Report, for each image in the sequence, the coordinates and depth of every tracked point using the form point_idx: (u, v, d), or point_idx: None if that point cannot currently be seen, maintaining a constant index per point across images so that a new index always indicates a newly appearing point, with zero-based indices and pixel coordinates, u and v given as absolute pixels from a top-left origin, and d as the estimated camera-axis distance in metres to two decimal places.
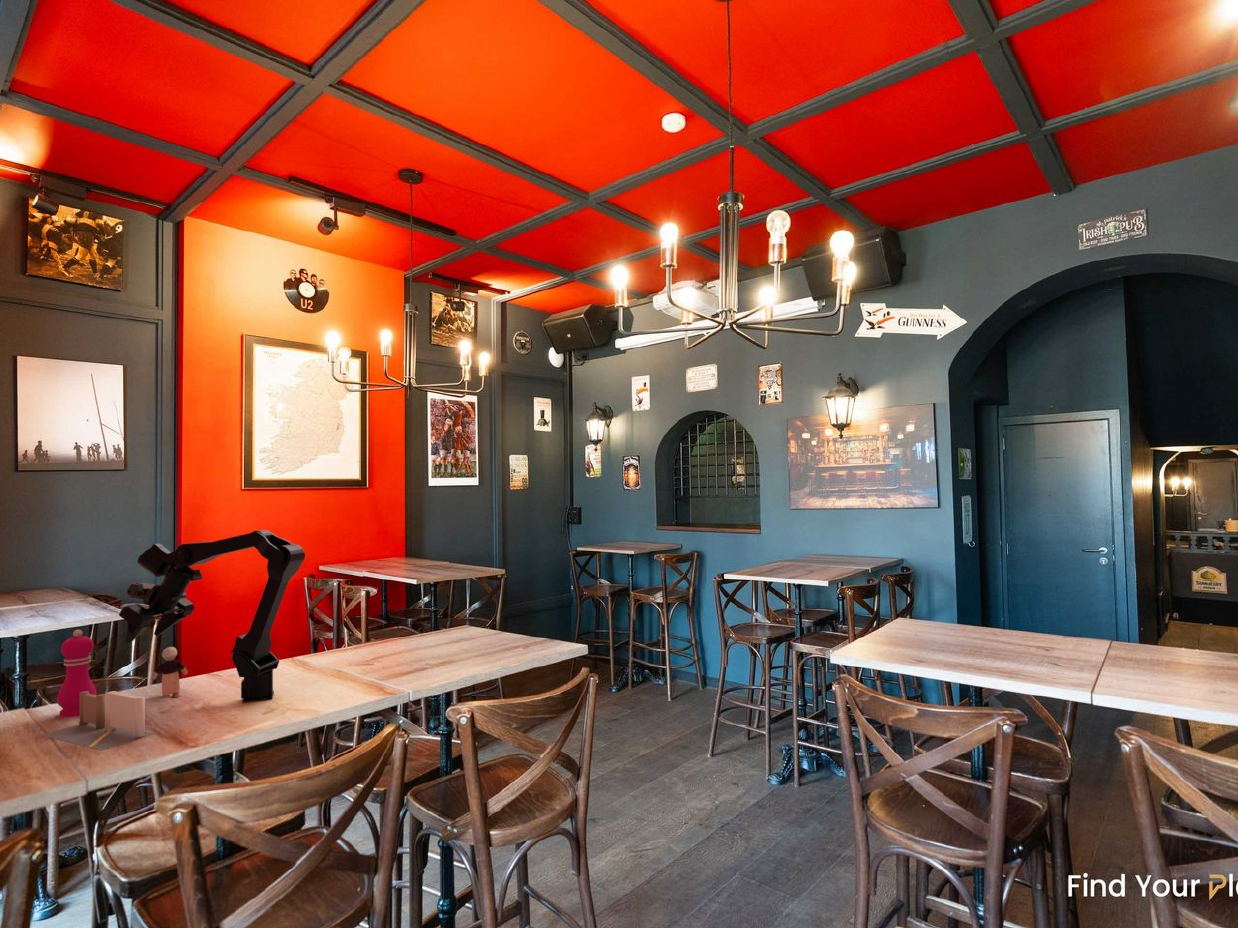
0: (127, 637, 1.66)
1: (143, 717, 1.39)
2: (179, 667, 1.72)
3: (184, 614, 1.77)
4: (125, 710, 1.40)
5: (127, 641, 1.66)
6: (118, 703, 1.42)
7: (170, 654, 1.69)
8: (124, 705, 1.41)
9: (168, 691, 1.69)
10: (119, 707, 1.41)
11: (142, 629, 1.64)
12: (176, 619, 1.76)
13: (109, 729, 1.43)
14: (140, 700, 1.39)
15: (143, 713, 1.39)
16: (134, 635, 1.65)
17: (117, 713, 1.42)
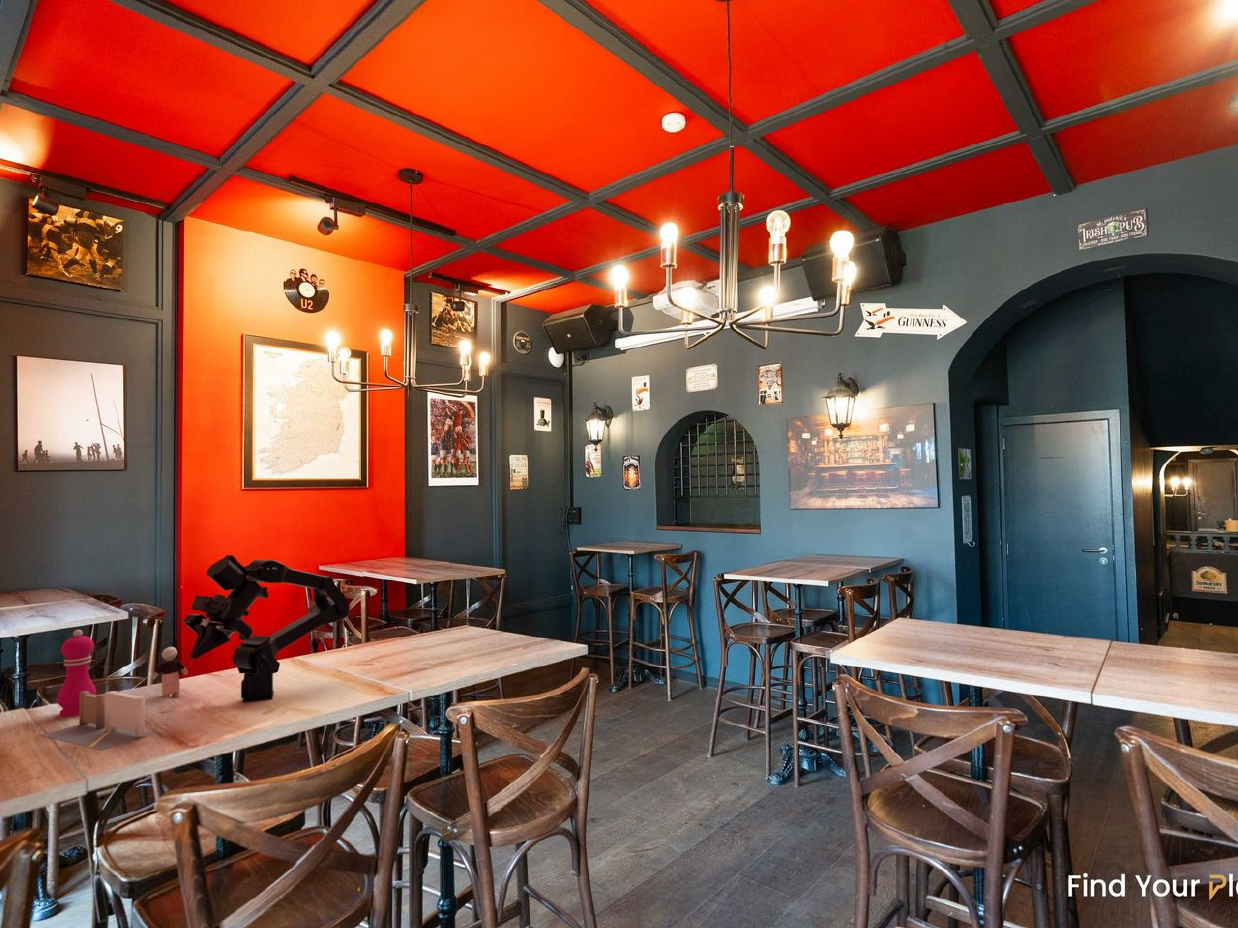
0: (198, 652, 1.54)
1: (143, 717, 1.39)
2: (179, 667, 1.72)
3: None
4: (125, 710, 1.40)
5: (195, 656, 1.54)
6: (118, 703, 1.42)
7: (170, 654, 1.69)
8: (124, 705, 1.41)
9: (168, 691, 1.69)
10: (119, 707, 1.41)
11: None
12: None
13: (109, 729, 1.43)
14: (140, 700, 1.39)
15: (143, 713, 1.39)
16: (209, 649, 1.56)
17: (117, 713, 1.42)
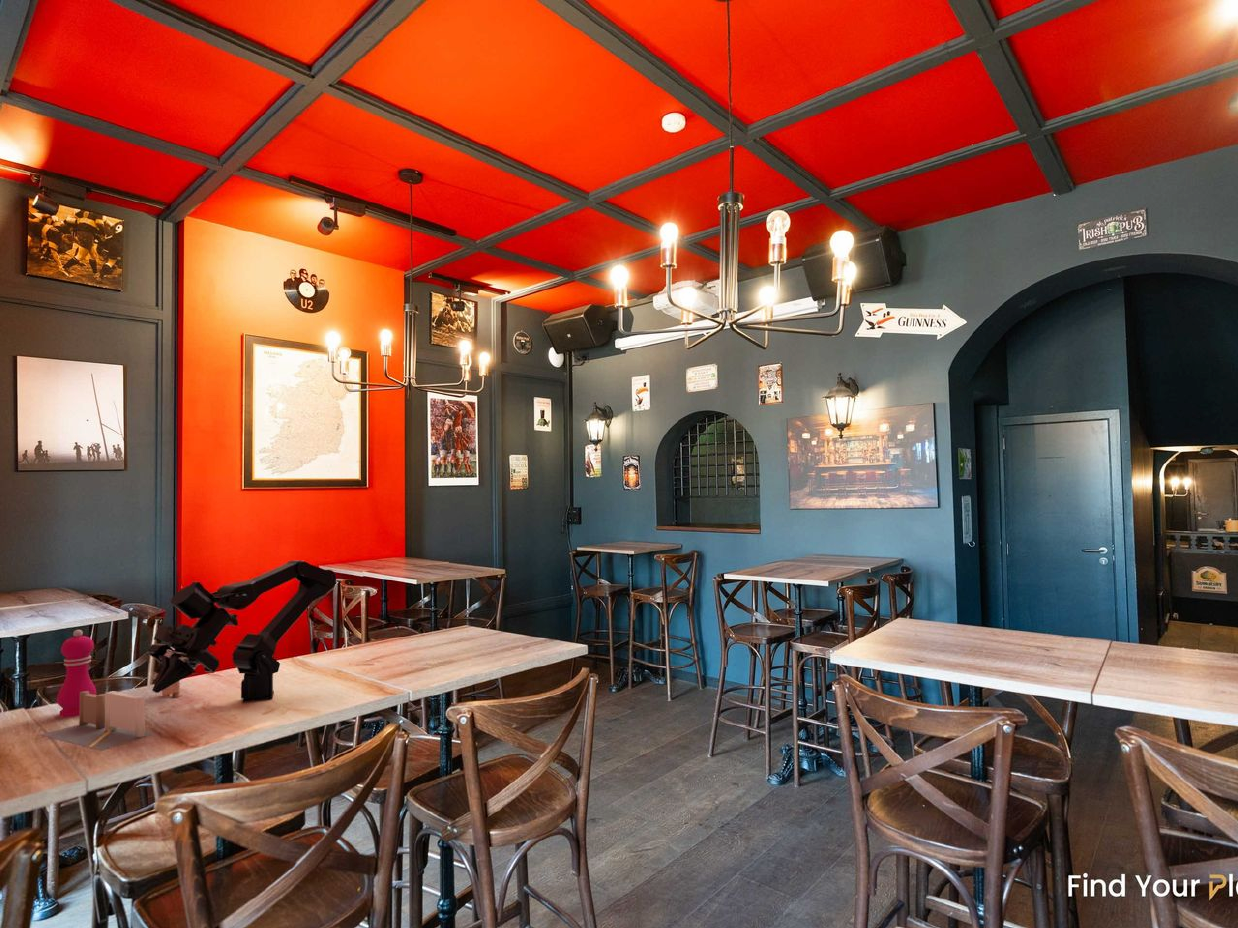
0: (161, 685, 1.47)
1: (143, 717, 1.39)
2: None
3: None
4: (125, 710, 1.40)
5: (158, 690, 1.46)
6: (118, 703, 1.42)
7: None
8: (124, 705, 1.41)
9: (168, 691, 1.69)
10: (119, 707, 1.41)
11: None
12: None
13: (109, 729, 1.43)
14: (140, 700, 1.39)
15: (143, 713, 1.39)
16: (173, 682, 1.49)
17: (117, 713, 1.42)
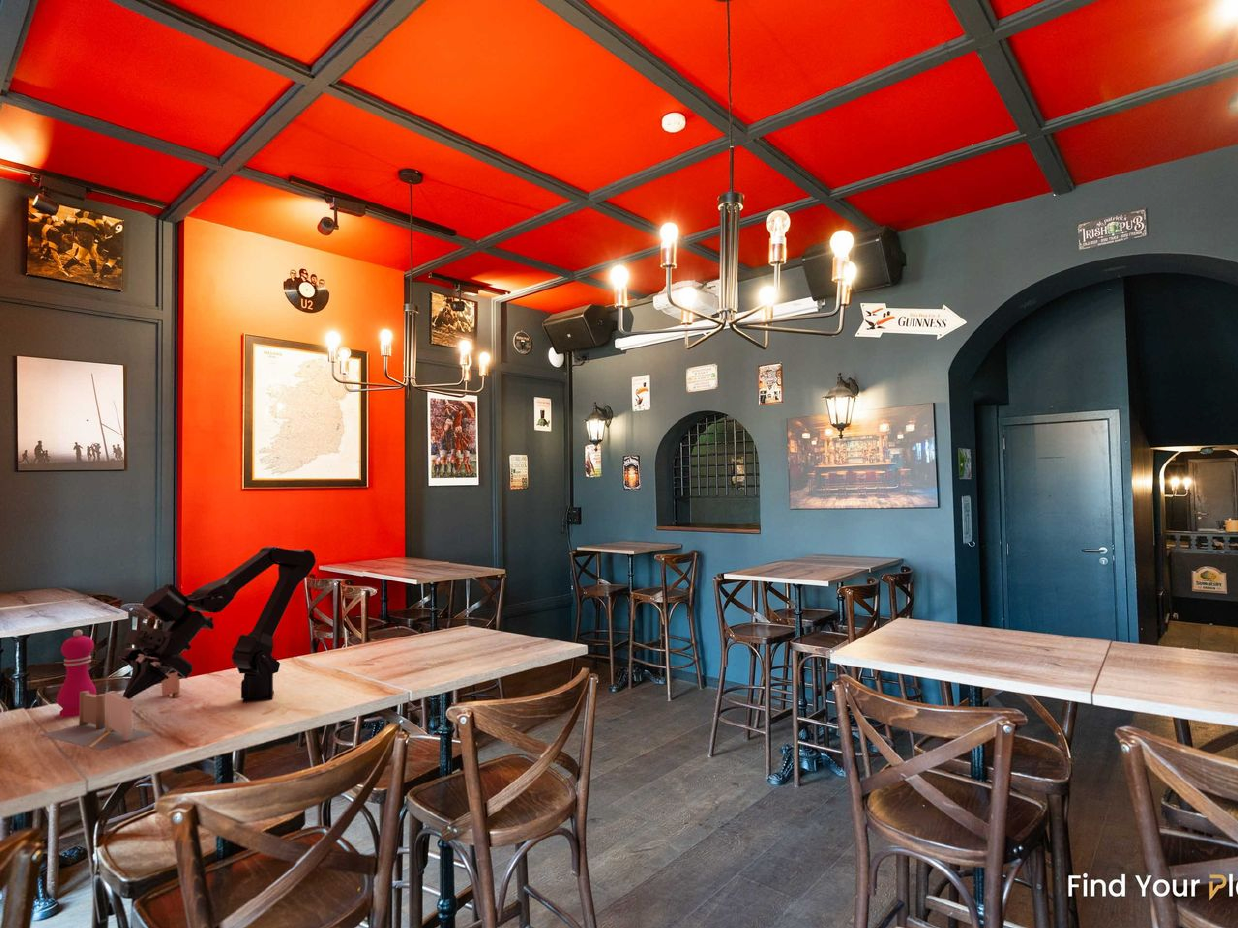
0: (131, 691, 1.41)
1: (129, 721, 1.37)
2: None
3: None
4: (117, 712, 1.39)
5: (128, 696, 1.41)
6: (113, 704, 1.41)
7: None
8: (116, 707, 1.40)
9: (168, 691, 1.69)
10: (114, 708, 1.41)
11: None
12: None
13: (108, 729, 1.43)
14: (126, 703, 1.37)
15: (130, 716, 1.37)
16: (145, 688, 1.43)
17: (112, 714, 1.41)
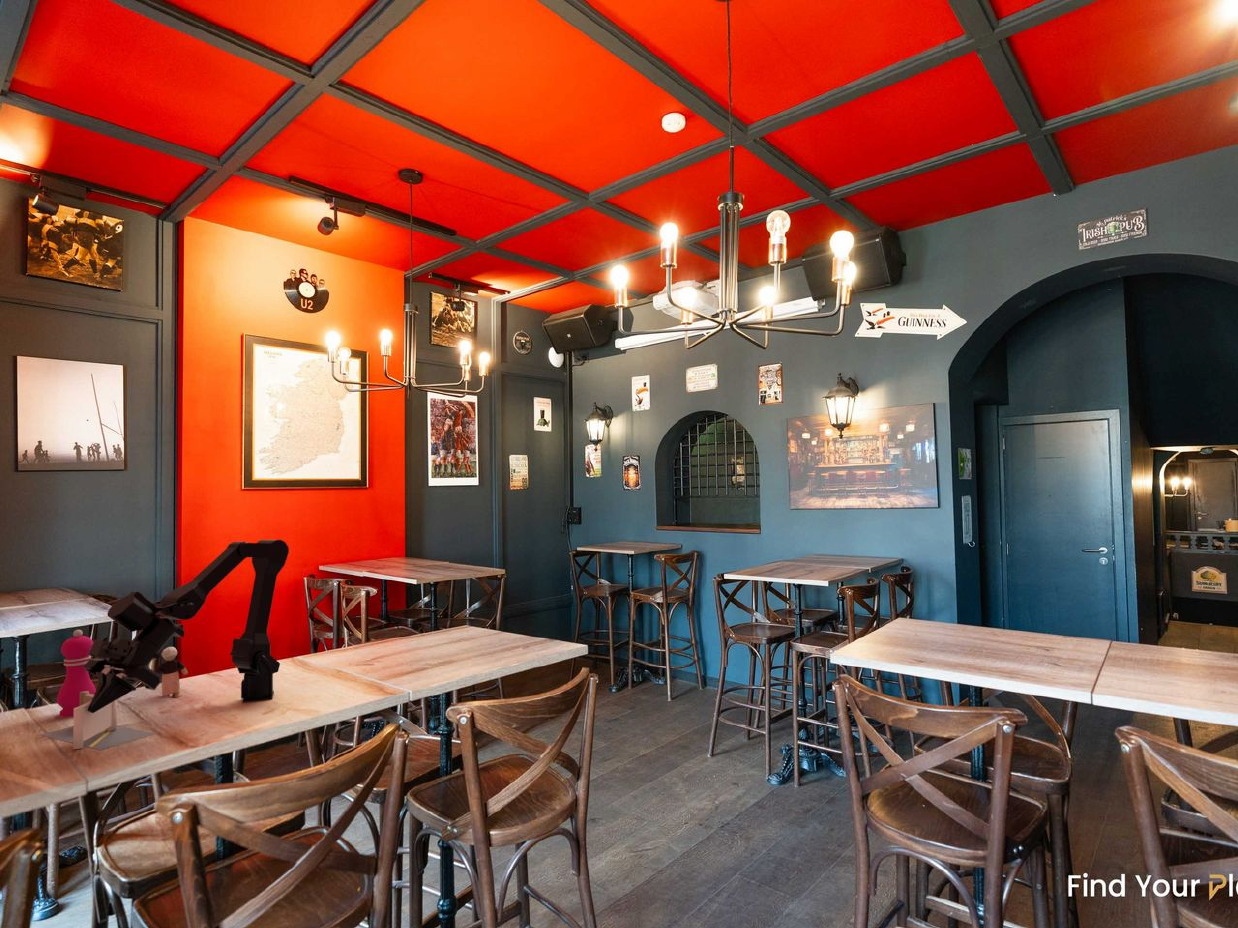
0: (97, 704, 1.36)
1: (77, 729, 1.32)
2: (179, 667, 1.72)
3: None
4: None
5: (93, 709, 1.35)
6: None
7: (170, 654, 1.69)
8: None
9: (168, 691, 1.69)
10: None
11: None
12: None
13: (105, 729, 1.43)
14: (74, 710, 1.33)
15: (77, 725, 1.33)
16: (111, 700, 1.37)
17: None
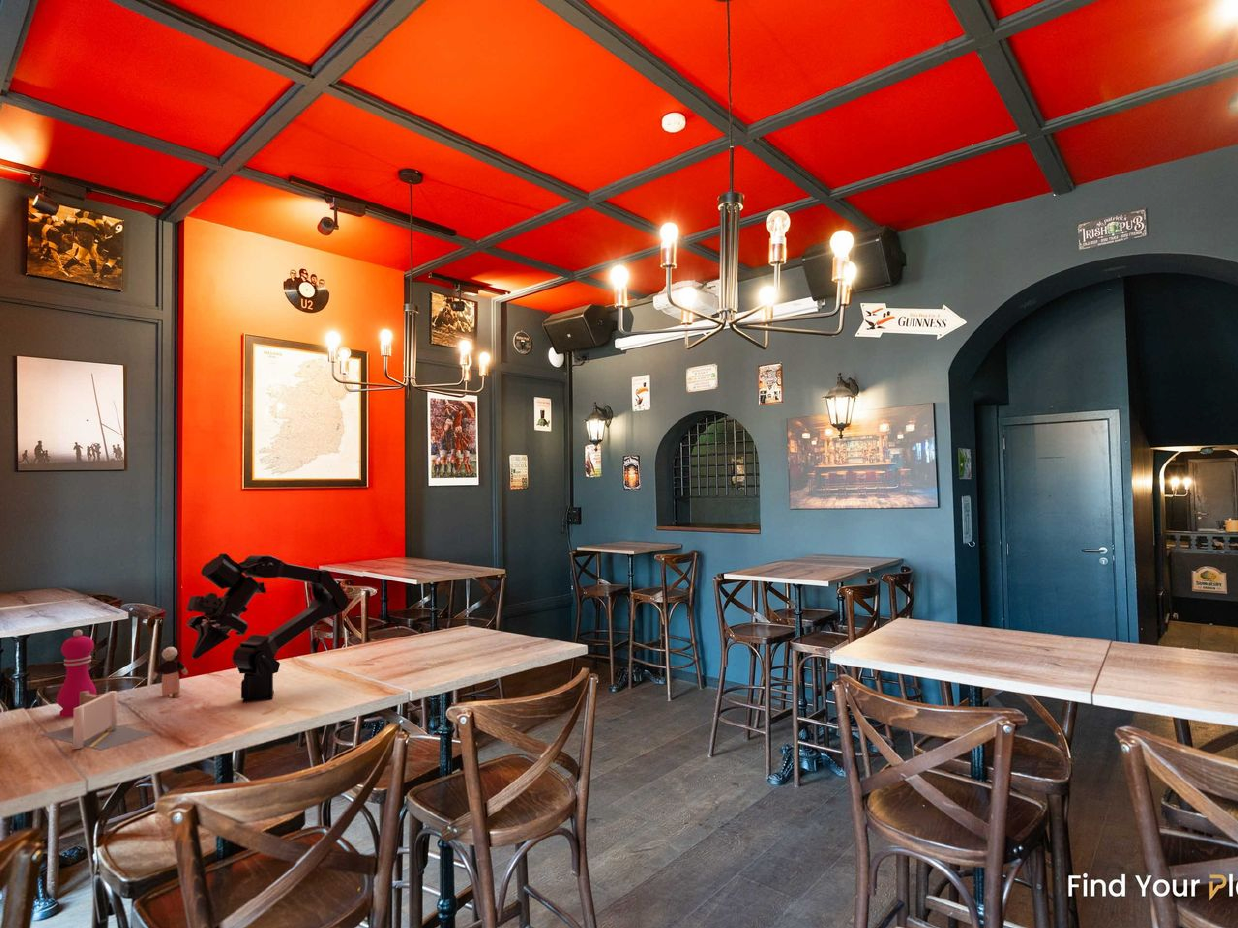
0: (198, 651, 1.54)
1: (77, 729, 1.32)
2: (179, 667, 1.72)
3: None
4: None
5: (196, 656, 1.54)
6: None
7: (170, 654, 1.69)
8: None
9: (168, 691, 1.69)
10: None
11: None
12: None
13: (105, 729, 1.43)
14: (74, 710, 1.33)
15: (77, 725, 1.33)
16: (210, 648, 1.56)
17: None
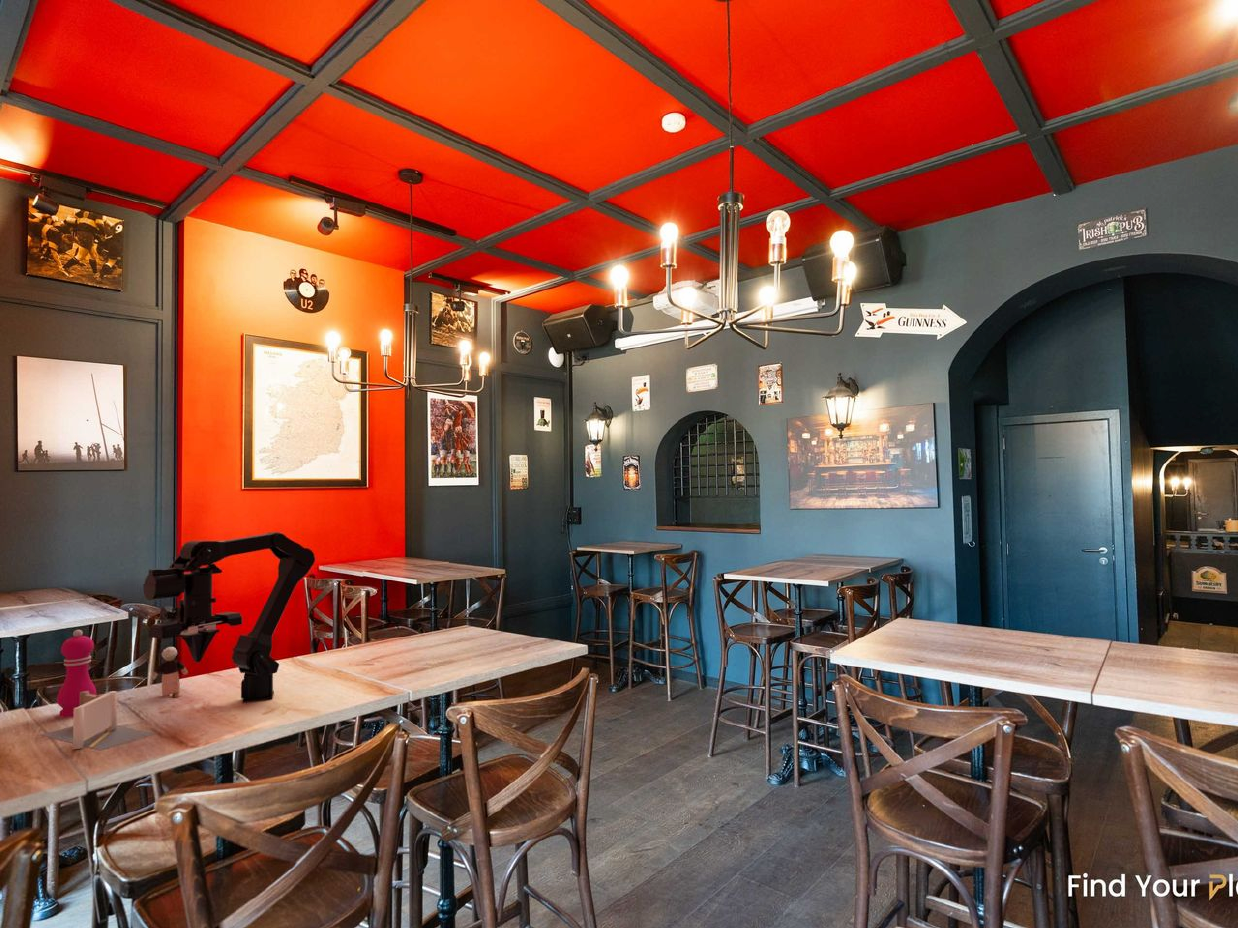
0: (193, 656, 1.56)
1: (77, 729, 1.32)
2: (179, 667, 1.72)
3: (230, 623, 1.61)
4: None
5: (195, 660, 1.56)
6: None
7: (170, 654, 1.69)
8: None
9: (168, 691, 1.69)
10: None
11: (196, 638, 1.54)
12: (206, 635, 1.56)
13: (105, 729, 1.43)
14: (74, 710, 1.33)
15: (77, 725, 1.33)
16: (195, 649, 1.55)
17: None
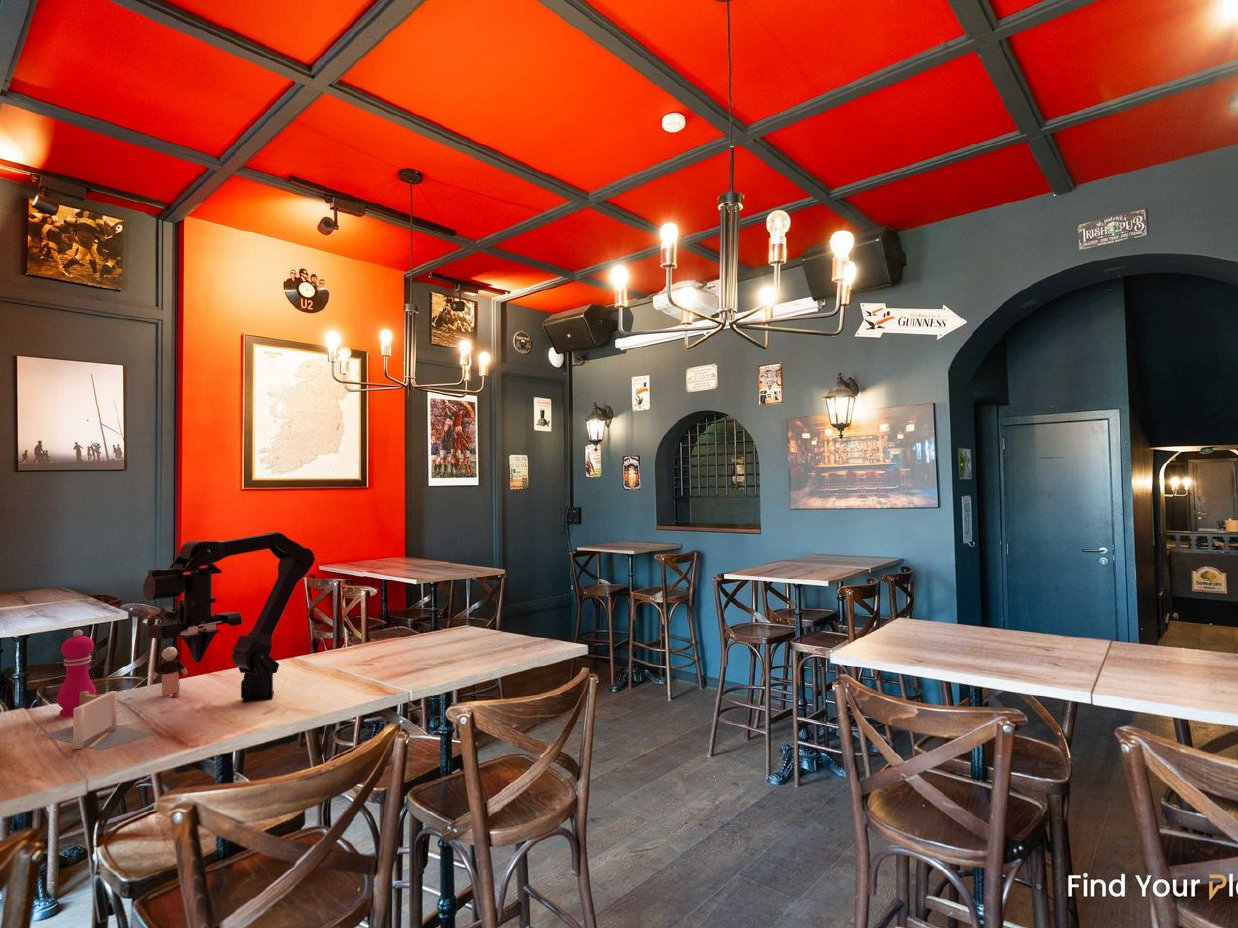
0: (193, 656, 1.56)
1: (77, 729, 1.32)
2: (179, 667, 1.72)
3: (230, 623, 1.61)
4: None
5: (195, 660, 1.56)
6: None
7: (170, 654, 1.69)
8: None
9: (168, 691, 1.69)
10: None
11: (196, 638, 1.54)
12: (206, 635, 1.56)
13: (105, 729, 1.43)
14: (74, 710, 1.33)
15: (77, 725, 1.33)
16: (195, 649, 1.55)
17: None
